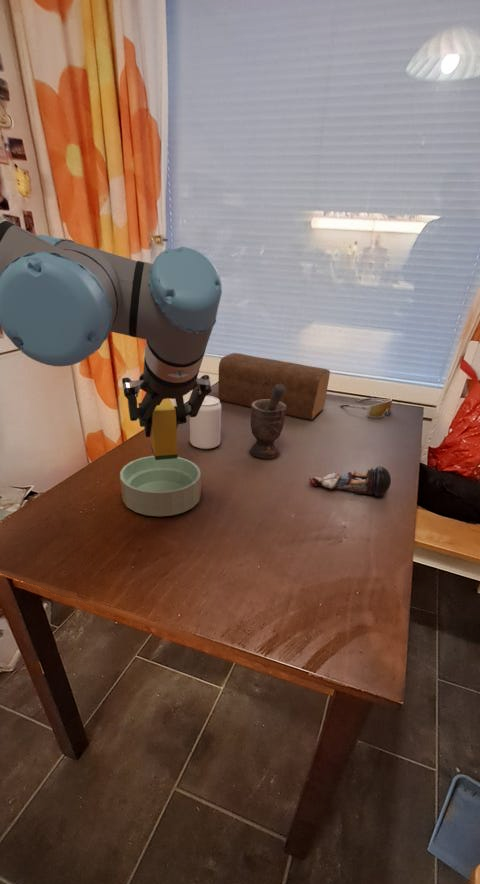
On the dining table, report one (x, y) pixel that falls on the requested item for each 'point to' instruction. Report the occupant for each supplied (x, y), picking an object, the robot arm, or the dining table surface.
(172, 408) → the sponge
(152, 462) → the bowl
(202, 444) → the beverage can
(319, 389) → the bread
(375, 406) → the sunglasses
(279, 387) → the mortar and pestle
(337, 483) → the figurine
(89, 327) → the robot arm
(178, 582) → the dining table surface
